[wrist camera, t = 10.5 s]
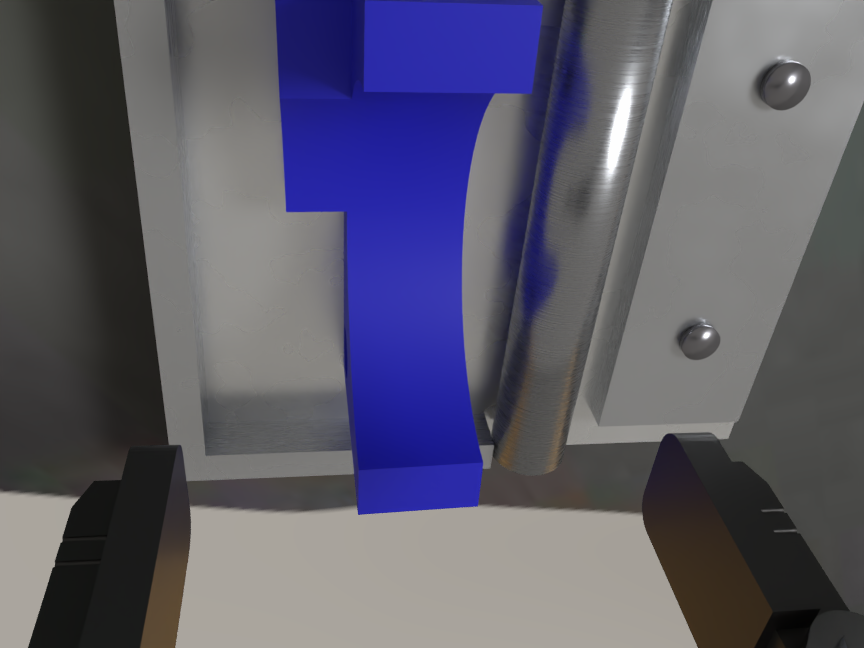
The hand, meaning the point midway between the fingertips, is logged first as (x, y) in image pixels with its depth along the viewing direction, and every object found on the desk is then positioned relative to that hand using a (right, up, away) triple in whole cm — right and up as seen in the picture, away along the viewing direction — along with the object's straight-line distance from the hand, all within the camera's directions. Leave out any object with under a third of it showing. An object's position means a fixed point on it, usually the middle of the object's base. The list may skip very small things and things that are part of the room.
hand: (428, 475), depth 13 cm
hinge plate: (+2, +6, +10) cm, 12 cm away
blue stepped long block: (-2, +6, +8) cm, 10 cm away
